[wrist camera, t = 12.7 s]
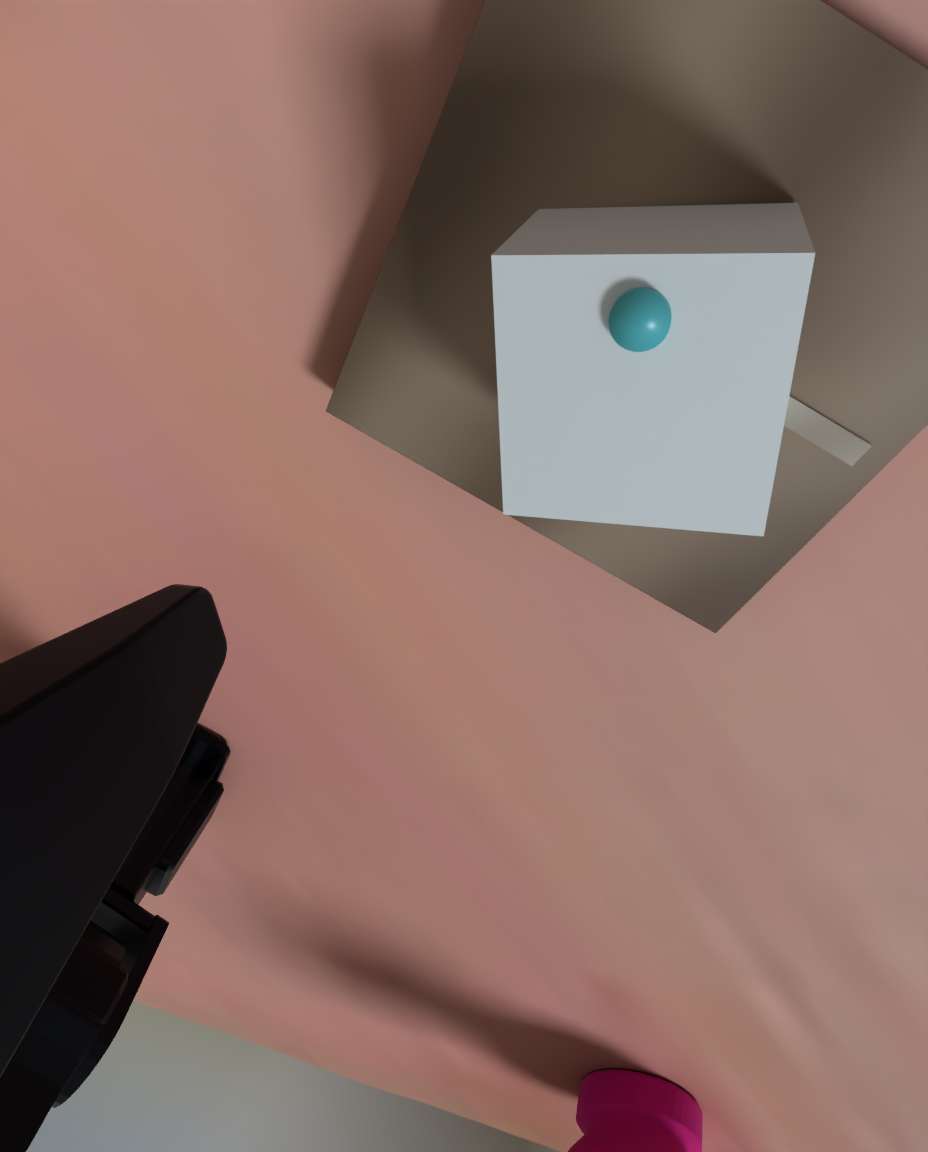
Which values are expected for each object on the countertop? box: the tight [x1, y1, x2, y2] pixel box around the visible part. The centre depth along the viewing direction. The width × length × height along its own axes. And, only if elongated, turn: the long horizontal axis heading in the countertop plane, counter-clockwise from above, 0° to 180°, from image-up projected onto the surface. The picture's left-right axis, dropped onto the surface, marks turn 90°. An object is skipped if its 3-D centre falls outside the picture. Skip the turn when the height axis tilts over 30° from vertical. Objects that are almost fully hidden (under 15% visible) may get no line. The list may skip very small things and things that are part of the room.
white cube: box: [491, 203, 815, 536], centre depth 15 cm, size 5×5×4 cm
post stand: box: [326, 0, 928, 633], centre depth 16 cm, size 12×12×4 cm
